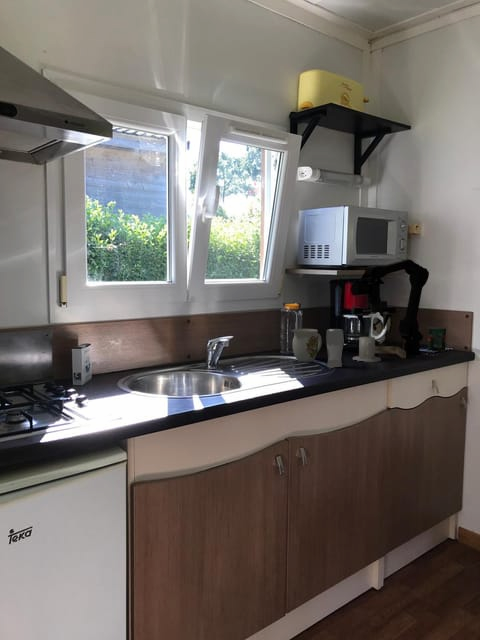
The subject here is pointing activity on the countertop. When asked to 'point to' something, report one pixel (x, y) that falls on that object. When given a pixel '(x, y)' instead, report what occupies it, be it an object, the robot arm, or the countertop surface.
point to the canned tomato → (437, 339)
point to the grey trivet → (367, 360)
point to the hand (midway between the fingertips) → (373, 329)
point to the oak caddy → (391, 351)
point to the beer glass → (334, 347)
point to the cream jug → (367, 348)
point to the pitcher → (306, 344)
